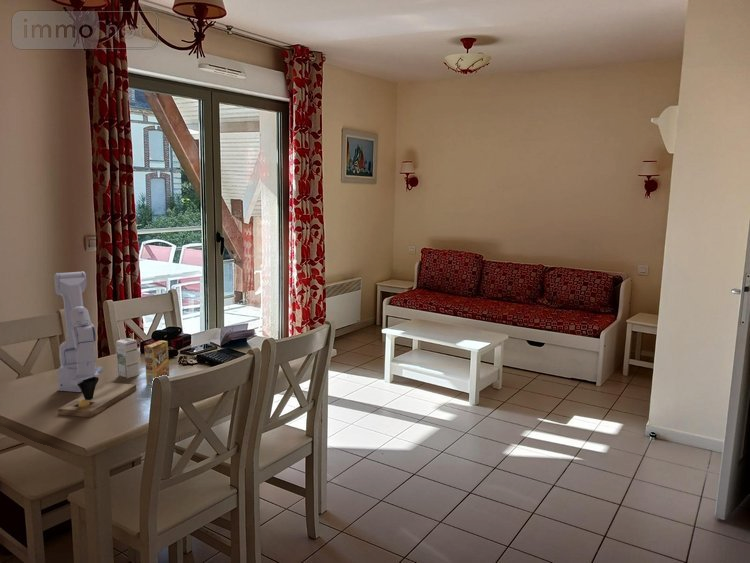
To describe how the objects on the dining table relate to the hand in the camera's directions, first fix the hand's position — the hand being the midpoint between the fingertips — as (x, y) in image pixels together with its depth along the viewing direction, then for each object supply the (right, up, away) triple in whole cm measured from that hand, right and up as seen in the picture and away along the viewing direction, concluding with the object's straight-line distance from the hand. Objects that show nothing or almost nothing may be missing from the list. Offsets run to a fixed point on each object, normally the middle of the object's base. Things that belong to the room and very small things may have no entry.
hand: (88, 399), depth 200 cm
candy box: (+14, +1, +27) cm, 30 cm away
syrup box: (0, +3, +33) cm, 33 cm away
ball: (-1, -2, -2) cm, 3 cm away
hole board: (+1, -2, +6) cm, 6 cm away
